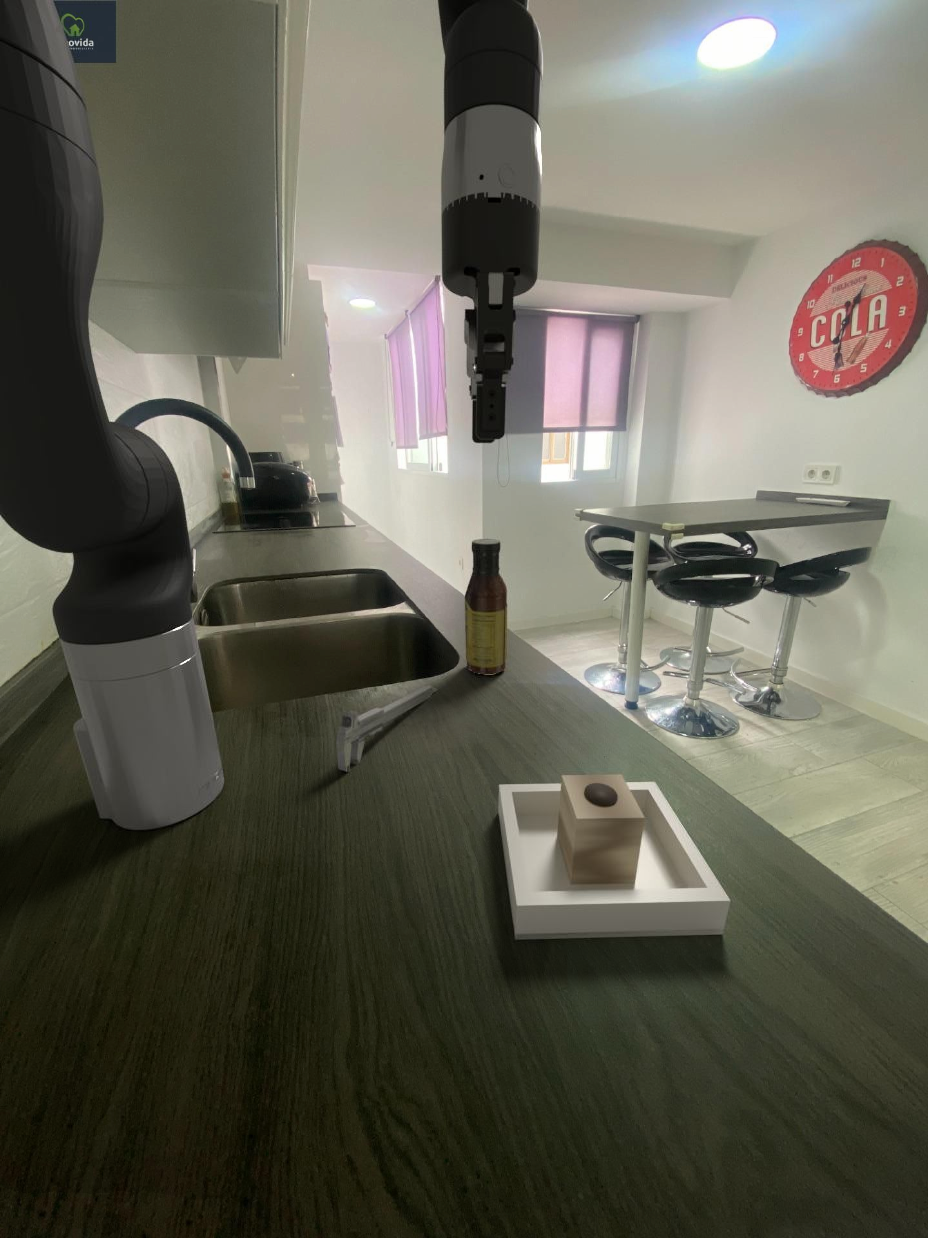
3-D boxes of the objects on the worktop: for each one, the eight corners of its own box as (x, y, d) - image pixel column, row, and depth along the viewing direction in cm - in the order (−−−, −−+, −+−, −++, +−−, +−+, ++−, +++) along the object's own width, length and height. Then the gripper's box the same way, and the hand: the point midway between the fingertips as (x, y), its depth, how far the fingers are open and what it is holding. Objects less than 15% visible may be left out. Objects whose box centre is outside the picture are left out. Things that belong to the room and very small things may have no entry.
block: (570, 884, 35) (577, 817, 33) (557, 835, 39) (561, 773, 37) (635, 883, 35) (645, 816, 33) (613, 834, 39) (621, 772, 37)
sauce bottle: (480, 657, 76) (481, 535, 70) (513, 667, 73) (518, 539, 67) (456, 671, 71) (455, 540, 65) (491, 682, 68) (494, 545, 61)
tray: (515, 939, 31) (516, 905, 30) (498, 812, 43) (499, 784, 42) (722, 934, 32) (730, 900, 31) (650, 809, 43) (654, 782, 42)
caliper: (347, 777, 48) (342, 723, 46) (338, 774, 48) (333, 720, 46) (437, 692, 66) (436, 650, 64) (430, 690, 66) (429, 649, 64)
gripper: (443, 252, 42) (445, 444, 47) (438, 154, 29) (441, 437, 34) (526, 253, 42) (518, 444, 48) (559, 156, 29) (544, 437, 34)
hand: (486, 441), depth 41 cm, fingers open, 8 cm apart
